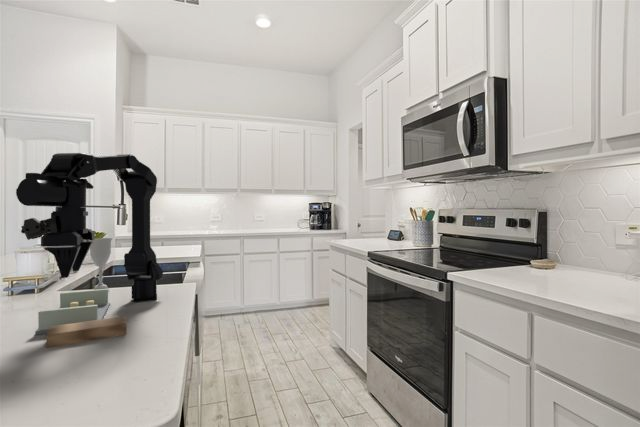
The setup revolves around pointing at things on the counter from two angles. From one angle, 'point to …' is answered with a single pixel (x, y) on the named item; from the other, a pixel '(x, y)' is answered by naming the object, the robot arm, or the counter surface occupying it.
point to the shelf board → (86, 331)
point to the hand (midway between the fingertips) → (70, 274)
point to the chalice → (100, 257)
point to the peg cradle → (75, 309)
